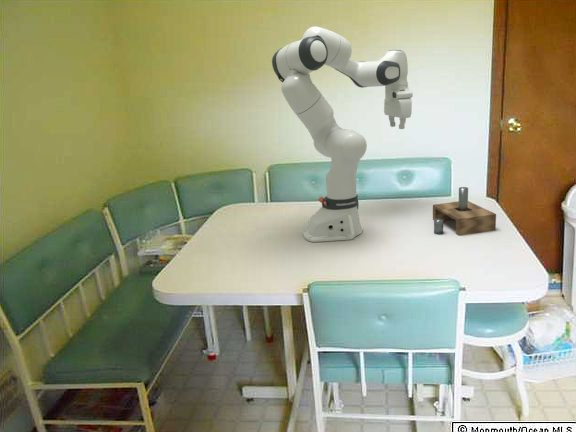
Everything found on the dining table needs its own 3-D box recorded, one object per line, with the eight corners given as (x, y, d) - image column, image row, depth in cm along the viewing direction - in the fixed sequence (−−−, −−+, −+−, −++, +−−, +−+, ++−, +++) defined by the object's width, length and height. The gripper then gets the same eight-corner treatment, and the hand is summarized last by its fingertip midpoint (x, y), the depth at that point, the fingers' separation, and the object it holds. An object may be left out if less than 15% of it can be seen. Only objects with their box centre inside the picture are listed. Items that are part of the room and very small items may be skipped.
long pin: (460, 226, 179) (461, 189, 175) (456, 223, 182) (457, 187, 178) (468, 225, 179) (469, 188, 175) (464, 222, 182) (465, 186, 178)
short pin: (436, 235, 172) (436, 221, 171) (432, 232, 175) (432, 219, 174) (444, 233, 173) (445, 220, 171) (440, 231, 176) (440, 217, 174)
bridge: (458, 235, 170) (458, 219, 168) (432, 219, 189) (432, 204, 187) (495, 230, 172) (496, 214, 170) (466, 214, 191) (466, 200, 189)
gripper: (379, 92, 203) (380, 126, 207) (398, 94, 183) (399, 131, 187) (394, 91, 203) (394, 124, 207) (414, 92, 184) (414, 129, 188)
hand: (397, 127), depth 197 cm, fingers open, 8 cm apart
